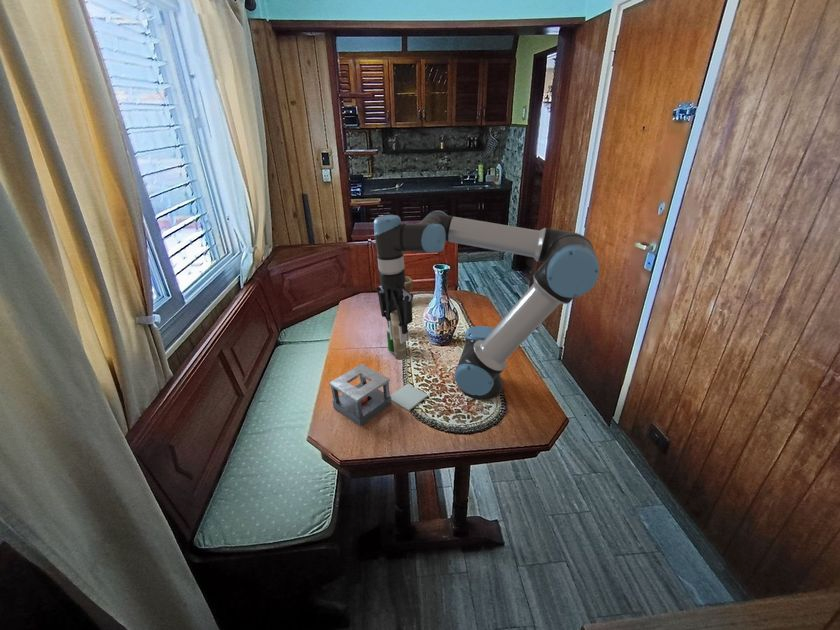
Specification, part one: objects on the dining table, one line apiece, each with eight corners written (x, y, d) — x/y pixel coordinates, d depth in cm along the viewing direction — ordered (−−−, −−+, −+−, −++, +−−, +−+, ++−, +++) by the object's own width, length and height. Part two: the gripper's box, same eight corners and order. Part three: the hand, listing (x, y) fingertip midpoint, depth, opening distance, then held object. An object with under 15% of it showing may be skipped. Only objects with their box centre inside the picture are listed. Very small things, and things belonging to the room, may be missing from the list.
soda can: (404, 356, 157) (402, 331, 152) (386, 355, 159) (384, 329, 153) (408, 346, 164) (406, 322, 158) (391, 345, 165) (389, 320, 160)
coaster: (428, 396, 135) (428, 394, 134) (408, 411, 128) (408, 409, 128) (407, 384, 141) (407, 383, 140) (387, 398, 134) (387, 397, 134)
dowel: (408, 356, 126) (404, 312, 119) (400, 361, 123) (396, 316, 116) (400, 352, 128) (395, 309, 121) (392, 357, 126) (387, 313, 118)
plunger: (370, 402, 131) (369, 391, 129) (361, 409, 128) (360, 397, 126) (363, 398, 133) (361, 386, 131) (354, 404, 131) (352, 392, 129)
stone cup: (417, 306, 198) (416, 279, 191) (395, 311, 194) (393, 284, 187) (406, 296, 210) (404, 270, 204) (385, 300, 206) (383, 274, 200)
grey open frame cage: (391, 403, 132) (389, 378, 127) (360, 426, 123) (356, 400, 118) (364, 387, 140) (361, 363, 135) (333, 407, 131) (329, 382, 126)
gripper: (421, 271, 110) (426, 342, 120) (381, 261, 120) (388, 327, 130) (404, 279, 105) (410, 352, 115) (363, 268, 115) (372, 337, 125)
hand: (398, 339), depth 123 cm, fingers closed on dowel, 3 cm apart
